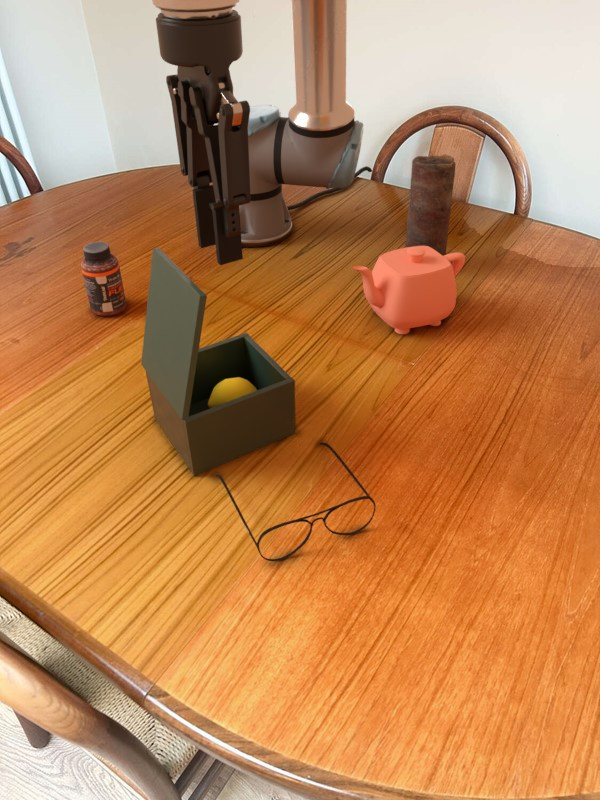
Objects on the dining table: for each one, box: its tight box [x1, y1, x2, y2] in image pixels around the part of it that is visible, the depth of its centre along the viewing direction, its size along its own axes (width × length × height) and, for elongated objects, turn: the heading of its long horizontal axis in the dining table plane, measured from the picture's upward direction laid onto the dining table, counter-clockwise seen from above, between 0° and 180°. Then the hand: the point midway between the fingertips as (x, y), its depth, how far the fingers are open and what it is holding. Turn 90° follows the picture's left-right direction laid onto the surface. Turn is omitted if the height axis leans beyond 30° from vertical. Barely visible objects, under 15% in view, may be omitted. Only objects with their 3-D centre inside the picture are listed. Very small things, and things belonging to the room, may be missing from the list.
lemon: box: [208, 377, 257, 408], centre depth 86 cm, size 7×5×5 cm
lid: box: [140, 247, 208, 420], centre depth 74 cm, size 15×13×1 cm
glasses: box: [215, 442, 377, 562], centre depth 76 cm, size 14×15×5 cm
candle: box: [404, 153, 457, 256], centre depth 114 cm, size 8×7×20 cm
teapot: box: [352, 246, 466, 335], centre depth 104 cm, size 20×12×12 cm, turn 114°
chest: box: [144, 332, 296, 477], centre depth 84 cm, size 15×13×9 cm
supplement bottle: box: [80, 241, 127, 317], centre depth 107 cm, size 6×6×11 cm
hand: (220, 251), depth 73 cm, fingers open, 4 cm apart
